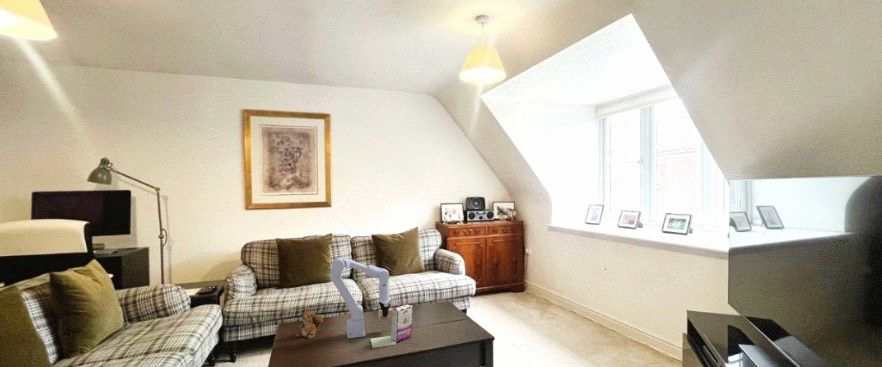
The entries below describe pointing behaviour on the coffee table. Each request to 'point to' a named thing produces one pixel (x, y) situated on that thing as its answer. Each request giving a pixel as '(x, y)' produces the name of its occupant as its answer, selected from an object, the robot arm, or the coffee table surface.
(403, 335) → the candy bar box
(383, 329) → the coffee table surface
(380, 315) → the wooden t-shaped block
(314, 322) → the stuffed squirrel
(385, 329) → the coffee table surface
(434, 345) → the coffee table surface
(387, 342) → the board
